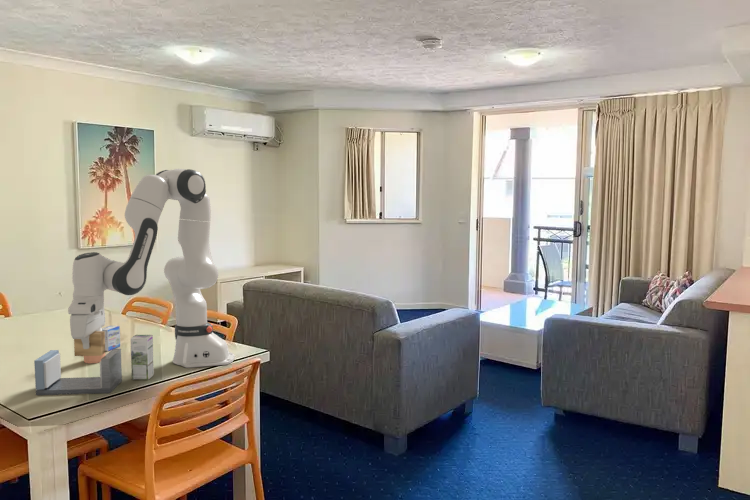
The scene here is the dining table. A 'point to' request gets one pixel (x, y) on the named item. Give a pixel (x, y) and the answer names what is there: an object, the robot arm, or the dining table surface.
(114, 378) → the vise
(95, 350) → the wooden block
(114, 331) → the medicine box
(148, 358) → the syrup box
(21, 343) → the dining table surface
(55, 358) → the vise jaw
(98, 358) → the pepper shaker
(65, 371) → the dining table surface
